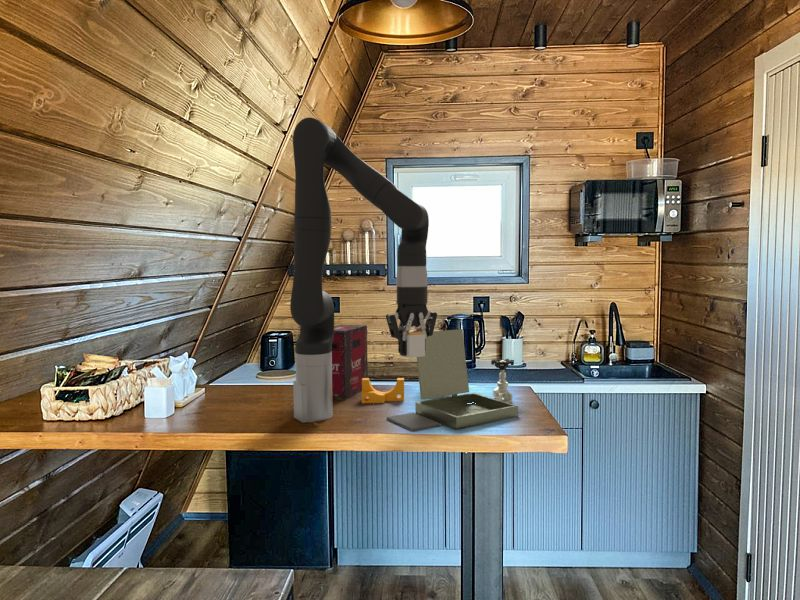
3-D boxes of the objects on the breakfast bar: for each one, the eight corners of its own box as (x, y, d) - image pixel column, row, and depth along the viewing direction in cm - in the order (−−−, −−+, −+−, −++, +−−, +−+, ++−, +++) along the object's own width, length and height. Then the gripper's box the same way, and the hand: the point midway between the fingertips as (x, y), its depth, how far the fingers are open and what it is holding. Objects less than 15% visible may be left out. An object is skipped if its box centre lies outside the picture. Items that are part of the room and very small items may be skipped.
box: (342, 386, 180) (341, 324, 178) (367, 388, 177) (367, 325, 175) (318, 397, 164) (316, 330, 163) (345, 400, 161) (344, 331, 160)
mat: (412, 431, 130) (412, 428, 130) (386, 419, 140) (386, 417, 140) (440, 425, 134) (440, 423, 134) (413, 414, 144) (413, 412, 144)
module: (409, 357, 133) (409, 332, 133) (399, 355, 137) (399, 331, 137) (425, 356, 136) (424, 331, 135) (414, 353, 139) (414, 329, 139)
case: (456, 430, 131) (456, 383, 130) (407, 410, 149) (407, 369, 149) (518, 417, 141) (518, 374, 140) (465, 400, 159) (465, 362, 159)
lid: (415, 333, 148) (412, 333, 149) (422, 399, 146) (418, 399, 148) (462, 329, 156) (458, 329, 157) (469, 392, 154) (465, 392, 156)
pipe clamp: (361, 403, 157) (361, 381, 157) (363, 400, 162) (362, 378, 161) (403, 403, 157) (403, 381, 157) (404, 400, 161) (404, 377, 161)
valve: (495, 406, 153) (495, 362, 152) (487, 400, 159) (487, 358, 159) (518, 405, 154) (518, 362, 153) (509, 399, 160) (509, 358, 160)
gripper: (394, 286, 128) (395, 359, 129) (444, 284, 136) (444, 354, 137) (378, 285, 135) (379, 355, 136) (427, 283, 142) (427, 350, 143)
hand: (412, 354), depth 136 cm, fingers closed on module, 4 cm apart
